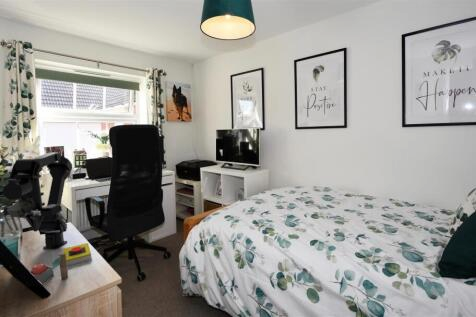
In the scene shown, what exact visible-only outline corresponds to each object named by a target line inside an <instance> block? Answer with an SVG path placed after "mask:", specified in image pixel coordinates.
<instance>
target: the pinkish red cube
mask: <svg viewBox="0 0 476 317" xmlns="http://www.w3.org/2000/svg"><path fill="white" fill-rule="evenodd" d="M46 266H47V265H46V263H37V264H35V265H34V266H32V267H31V269H32V270H31V271H32V272H33V275H41V274H42V273H44V272H45V271H46Z"/></svg>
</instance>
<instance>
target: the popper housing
mask: <svg viewBox="0 0 476 317" xmlns="http://www.w3.org/2000/svg"><path fill="white" fill-rule="evenodd" d="M30 272H31V273H32V274H33V272H32V270H31V271H30ZM54 276H55V275H54V269H52V266H50V265H49V266H47V265H46V271H45V272H44V273H42V274H41V275H34V277H35V278H36V279H37V280H39V281H40V282H41V283H42V284H43V285H44V284H45V283H47V282H48V281H49V280H51V279H52V278H53V277H54Z"/></svg>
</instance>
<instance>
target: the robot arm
mask: <svg viewBox="0 0 476 317" xmlns="http://www.w3.org/2000/svg"><path fill="white" fill-rule="evenodd" d="M44 167H47V169H48V170H49V175H50V177H51V178H52V180H51V183H50V190H49V194H48V199H47V205H46V203H45V202H43V200H42V197H43V196H44V195H45V194H44V192H41V191H42V190H41V183H40V178H42V174H40V173H41V172H42V171H43V170H44V169H43V168H44ZM72 170H73V163H72V162H71V161H70V159H69V158H67V157H65V156H63V155H62V154H61V152H57V151H56V152H55V151H54V152H53V151H52V152H51V151H50V152H45V153H44V154H41V155H39V156H35V157H33V158H18V159H16V160H15V162H14V163H13V165H12V168H11V171H10V173H9V174H10V175H9V178H8V181H7V183H8V184H6V185H5V186H3V190H2V195H3V196H4V197H5V198H6V199H9V200H12V201H14V200H18V201H17V202H15V203H13V204H12V205H9V206H6V207H5V208H4V210H3V215H4V216H9V217H10V218H19V219H21V218H22V219H24V220H26V222H27V223H28V225H29V227H30V228H31V230H32V231H33V232H39V235H40V236H42V235H44V237H45V238H44V243H45V245H44V246H43V247H42V249H46V250H47V249H50V250H57V249H60V247H63V245H65V244H67V243H68V241H67V240H65V239H64V233H65V232H67V229H68V224H67V223H66V221H65V220H64V217H63V215H62V213H61V212H62V211H63V210H62V205H61V204H62V199H63V194H64V188H65V182H66V180H67V178H69V177H70V175H71V173H72ZM45 205H46V206H45Z"/></svg>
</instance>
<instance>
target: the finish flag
mask: <svg viewBox="0 0 476 317" xmlns="http://www.w3.org/2000/svg"><path fill="white" fill-rule="evenodd" d="M51 267H52V269H53V270H55V269H56V268H57V267H59V270H60V279H61V281H65V280H68V279H69V273H68V268H67V262H66V253H63V252H61V253H58V255H57V257H56V258H54V259H53V260H51Z"/></svg>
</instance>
